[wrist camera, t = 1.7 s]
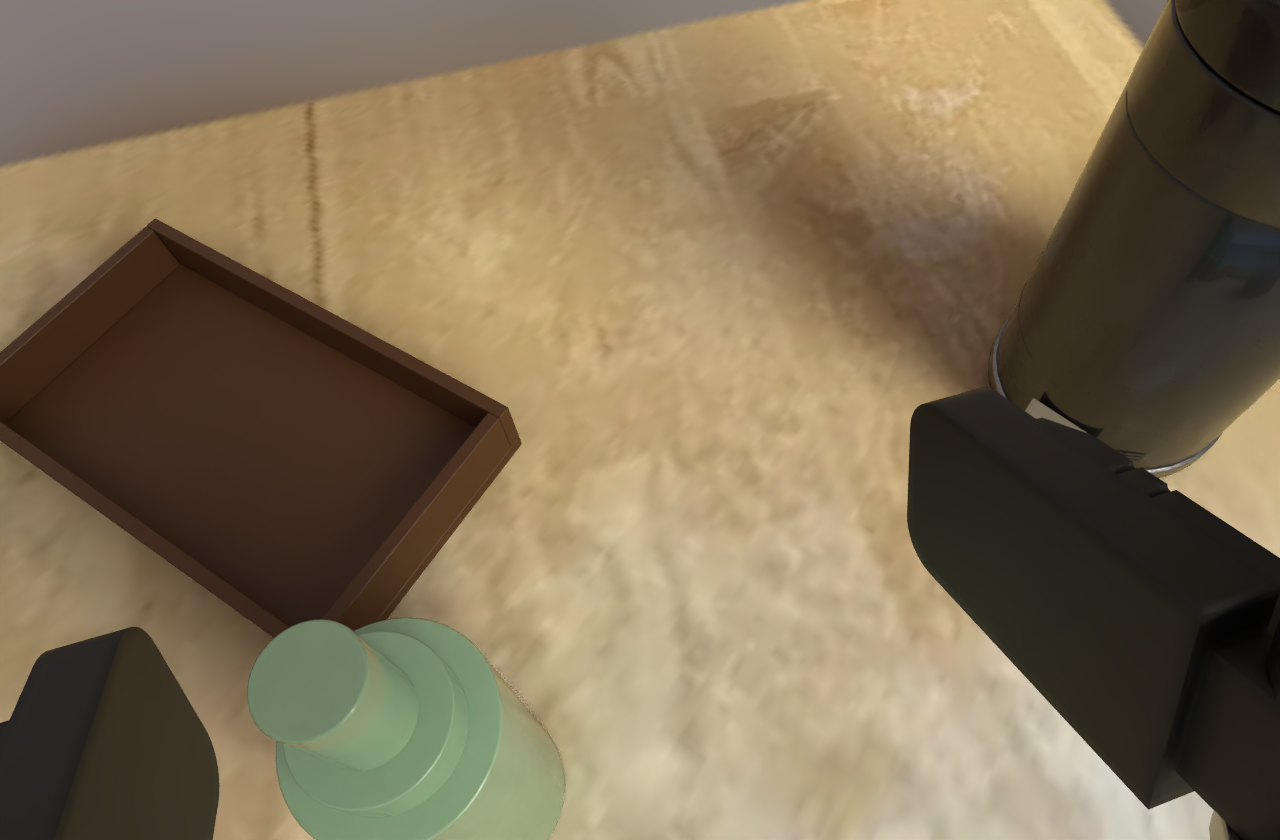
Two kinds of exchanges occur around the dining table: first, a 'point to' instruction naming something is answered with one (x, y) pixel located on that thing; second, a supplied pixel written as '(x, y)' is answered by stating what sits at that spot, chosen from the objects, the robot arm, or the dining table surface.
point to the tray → (249, 433)
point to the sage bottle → (402, 736)
